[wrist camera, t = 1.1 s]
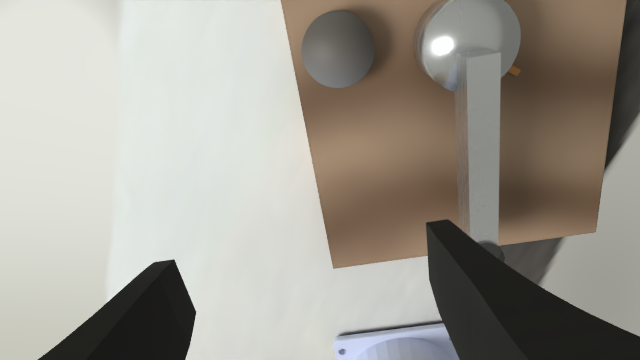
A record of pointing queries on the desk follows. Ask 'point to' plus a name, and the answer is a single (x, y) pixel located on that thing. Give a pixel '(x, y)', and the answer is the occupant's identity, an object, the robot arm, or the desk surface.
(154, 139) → the desk surface
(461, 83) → the door lever handle
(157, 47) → the desk surface
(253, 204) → the desk surface
